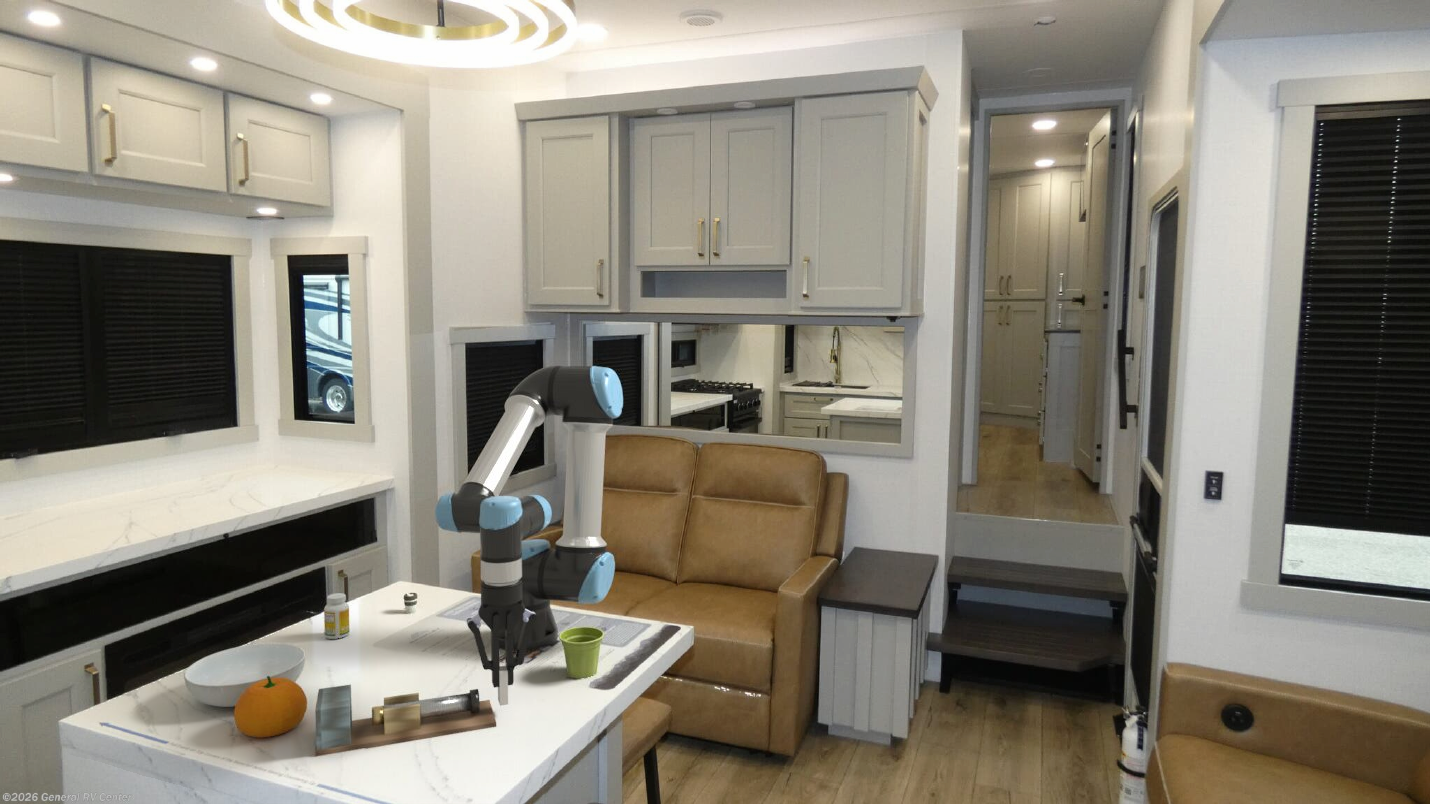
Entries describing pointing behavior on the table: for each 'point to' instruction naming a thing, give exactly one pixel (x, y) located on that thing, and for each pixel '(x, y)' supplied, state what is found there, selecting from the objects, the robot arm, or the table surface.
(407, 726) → the base
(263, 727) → the fruit
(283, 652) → the serving bowl
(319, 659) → the table surface
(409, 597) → the coffee cup
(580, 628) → the plant pot
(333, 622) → the supplement bottle
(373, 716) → the tube
